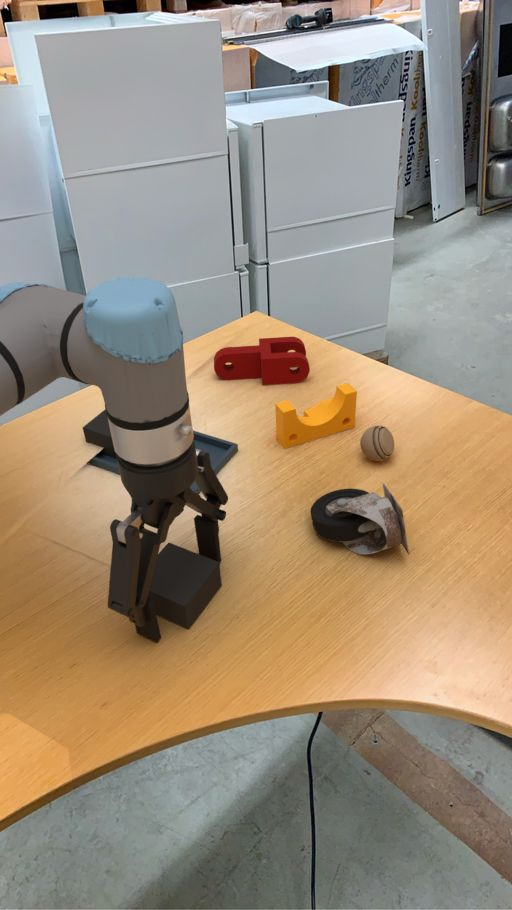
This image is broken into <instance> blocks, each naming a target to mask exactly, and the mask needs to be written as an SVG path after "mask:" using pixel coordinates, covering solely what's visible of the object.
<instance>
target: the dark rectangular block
mask: <svg viewBox="0 0 512 910" xmlns="http://www.w3.org/2000/svg"><path fill="white" fill-rule="evenodd" d="M220 564H221V563H219V562H217V561H215V560H212V559H210V558H207V557H204V556H202V555H199V553H197V552H194V551H192V550H189V549H187V548H184V547H182V546H179V545H176V544H174V543H171V542H167V543H166V545H165V546H164V547H163V548H162V549H161V550H159V552H158V556H157V560H156V564H155V568H154V572H153V576H152V580H151V584H150V588H149V593H148V597H151V598H153V602H154V607H155V611H156V616H157V617H160V618H162V619H164V620H166V621H169V622H171V623H173V624H175V625H177V626H180V627H181V628H184V629H186V630H188V631H189V630H190V629H191V628H192V626H193V625H194V624H195V622H196V621H197V620H198V618H199V617H200V616H201V614H202V613H203V611H204V610H205V609H206V608H207V607H208V605H209V604H210V602H211V601H212V599H213V598H214V597H215V595H216V594H217V593H218V591H219V590H220V589H221V588H222V586H223V583H222V575H221V567H220Z"/></svg>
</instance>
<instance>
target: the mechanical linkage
mask: <svg viewBox="0 0 512 910" xmlns="http://www.w3.org/2000/svg"><path fill="white" fill-rule="evenodd" d="M305 345H306V344H305V343H304V342H303V340H302V339H300V338H298V337H296V336H277V337H261V338H258V344H257V345H241V346H226V347H222V348H220V349H218V350H217V351H216V353H215V355H214V357H213V369H214V370H213V371H214V373H215V375H216V376H217V377H218V378H220V379H221V380H225V381H233V380H236V381H237V380H249V379H250V380H251V379H252V380H253V379H261V385H262V386H273V385H275V386H276V385H289V384H290V385H291V384H299V383H301V382H304V381H305V380H306V379H307V378H308V376H309V374H310V371H311V370H310V369H311V367H310V364H309V360H308V358H307V350H306V347H305ZM228 363H230V364H228ZM295 367H297V368H295ZM292 368H295V369H292Z"/></svg>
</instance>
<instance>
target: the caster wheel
mask: <svg viewBox="0 0 512 910" xmlns="http://www.w3.org/2000/svg"><path fill="white" fill-rule="evenodd" d="M382 488H383V494H384V496H381V495H380V494H378V493H376V492H373V491H372V492H368V491H366V490H364V489H360V488H341V489H337V490H336V489H335V490H333V491H330V492H327V493H325V494H323V495H322V496H320V497H319V498H317V499H316V500H315V501H314V502H313V504H312V505H311V507H310V511H309V512H310V517H311V522H312V526H313V530H314V532H315V534H316V535H317V536H319V537H320V538H321V539H323V540H326V541H330V542H337V543H343V545H344V546H345V547H346V548H347V550H349V551H351V552H352V553H355V554H357V555H371V554H375V553H379V552H382V551H386V550H389V549H393V548H395V547H399V546H401V547H403V549H404V551H405V552H406V554H407V555H410V550H409V544H408V543H409V542H408V538H407V530H406V525H405V518H404V511H403V508H402V506H401V505H400V504H399V502H398V501H397V500H396V498H395V497H394V495H393V494H392V493H391V491H390V490H389V489H388V487H387V486H386V484H385V483H384V482H382Z"/></svg>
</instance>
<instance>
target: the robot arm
mask: <svg viewBox="0 0 512 910" xmlns="http://www.w3.org/2000/svg"><path fill="white" fill-rule="evenodd" d="M186 374H187V373H186V363H185V351H184V331H183V328H182V327H181V322H180V319H179V313H178V308H177V304H176V299H175V296H174V294H173V292H172V290H171V289H170V288H169V287H168V286H167V285H166V284H165V283H163V282H161V281H159V280H157V279H154V278H149V277H143V276H141V277H137V278H130V277H128V276H127V277H117V278H114V279H110V280H107V281H104V282H101V283H100V284H97V285H96V286H94V287H92V289H90V290H89V291H88V292H87V294H86V295H84V294H80V293H78V292H74V291H73V292H72V291H70V290H66V289H62V288H59V287H55V286H52V285H48V284H45V283H40V284H38V283H35V282H34V283H29V282H23V281H14V282H8V283H6V284H3V285H1V286H0V417H1V416H3V415H4V414H6V413H7V412H9V411H11V410H12V409H14V408H15V407H16V406H18V405H20V404H22V403H23V402H25V401H27V399H30V398H31V397H33V396H34V395H35V394H37V393H38V392H40V391H42V390H43V389H45V388H46V387H47V386H49V385H51V384H52V383H53V382H55V381H56V380H58V379H60V378H66V379H68V380H72V381H75V382H79V383H81V384H84V385H92V386H95V387H97V388H98V389H100V391H101V395H102V398H103V402H104V408H105V409H104V410H106V414H107V417H108V422H109V426H110V431H111V436H112V440H113V445H114V449H115V452H116V458H117V463H118V467H119V471H120V475H119V476H120V480H121V483H122V485H123V487H124V489H125V490H126V492H127V493H128V496H130V498H131V506H130V514H129V515H128V516H127V517H125V519H124V520H119V519H117V518H116V519H113V520H112V521H111V523H110V527H109V530H110V535H111V540H112V548H111V559H110V572H109V583H108V593H107V594H108V595H107V609H110V610H112V611H114V612H116V613H118V614H120V615H123V616H124V617H127V618H128V621H129V622H130V623H131V624H134V627H135V631H136V634H137V635H139V636H141V637H143V638H145V639H148V640H150V641H152V642H153V643H156V644H158V643H159V642H160V640H161V639H162V635H161V630H160V626H159V621H158V615H156V611H155V607H154V602H153V598H151V597H148V593H149V588H150V584H151V580H152V576H153V572H154V568H155V564H156V560H157V556H158V554H159V553H160V548H161V545H162V544H164V543H165V542H166V541H167V538H168V534H169V530H170V526H172V524H173V522H174V521H175V519H176V518H177V517H179V516H180V515H182V514H183V512H184V511H185V507H188V508H190V509H191V510H193V511H195V512H197V514H196V515H195V516H194V518H193V522H194V530H195V537H196V545H197V551H198V554H199V555H202V556H204V557H207V558H210V559H212V560H215V561H217V562H219V564H221V562H222V553H221V544H220V537H219V536H220V535H219V534H220V525H219V521H221V522H223V521H225V519H226V517H227V511H225V510H223V509H220V508H221V507H222V506H225V505H227V503H228V501H229V496H228V494H227V492H226V490H225V488H224V487H223V484H222V483H221V481H220V479H219V478H218V476H217V475H216V474H215V472H214V471H213V469H212V467H211V462H210V456H209V453H208V452H205V451H201V450H198V449H196V447H195V442H194V440H193V437H194V435H193V431H194V429H193V428H194V427H193V421H192V415H191V407H190V396H189V392H188V388H187V387H188V386H187V376H186ZM194 481H195V482H196V484H197V486H198V487H199V489H200V490H201V492H200V493H201V494H202V495H203V497H204V498H203V497H201V495H200V494H197V493H195V492H194V491H193V490H191V489H190V486H191V485H192V484H193V482H194ZM198 513H199V514H201V515H199V514H198ZM145 525H147V526H149V527H152V528H153V529H157V531H156V532H155V531H153V530H150V529H147V528H145Z"/></svg>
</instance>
